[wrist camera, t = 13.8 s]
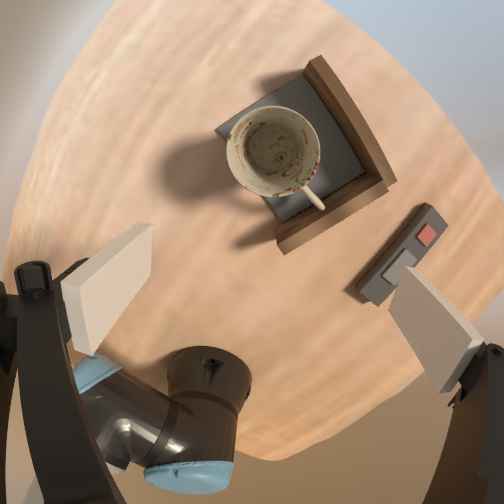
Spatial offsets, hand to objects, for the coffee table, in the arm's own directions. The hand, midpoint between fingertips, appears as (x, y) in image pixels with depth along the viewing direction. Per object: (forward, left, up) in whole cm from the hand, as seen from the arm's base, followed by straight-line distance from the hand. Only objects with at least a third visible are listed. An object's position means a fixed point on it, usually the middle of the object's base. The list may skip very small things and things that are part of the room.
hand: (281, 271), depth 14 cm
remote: (+11, -18, -24) cm, 31 cm away
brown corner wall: (+5, +2, -23) cm, 24 cm away
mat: (+5, +3, -23) cm, 24 cm away
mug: (+3, +2, -23) cm, 24 cm away
